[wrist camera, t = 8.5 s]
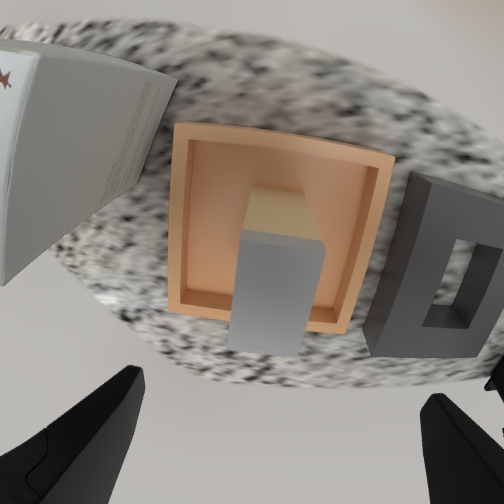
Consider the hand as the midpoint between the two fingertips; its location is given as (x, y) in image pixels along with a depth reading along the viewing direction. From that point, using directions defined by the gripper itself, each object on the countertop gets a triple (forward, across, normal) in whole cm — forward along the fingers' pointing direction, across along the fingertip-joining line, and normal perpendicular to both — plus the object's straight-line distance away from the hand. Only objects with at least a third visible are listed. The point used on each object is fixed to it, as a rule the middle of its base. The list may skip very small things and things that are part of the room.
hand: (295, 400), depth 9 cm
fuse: (+12, +1, 0) cm, 12 cm away
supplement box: (+13, +12, -6) cm, 19 cm away
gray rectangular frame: (+13, -12, +1) cm, 18 cm away
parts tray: (+13, +1, 0) cm, 13 cm away
